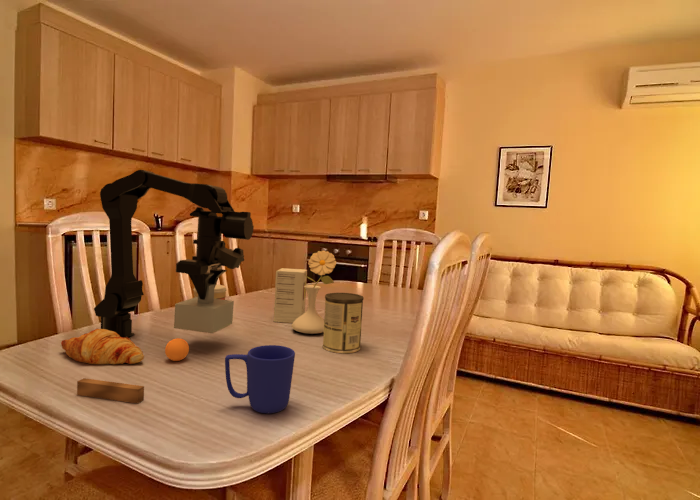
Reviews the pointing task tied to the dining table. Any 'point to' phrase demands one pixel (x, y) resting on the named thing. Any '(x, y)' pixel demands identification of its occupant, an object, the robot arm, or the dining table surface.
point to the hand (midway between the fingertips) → (205, 298)
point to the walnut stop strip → (110, 390)
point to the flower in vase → (315, 293)
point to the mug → (265, 377)
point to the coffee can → (342, 322)
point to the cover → (204, 313)
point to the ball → (177, 349)
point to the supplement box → (289, 294)
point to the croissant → (102, 348)
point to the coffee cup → (215, 292)
